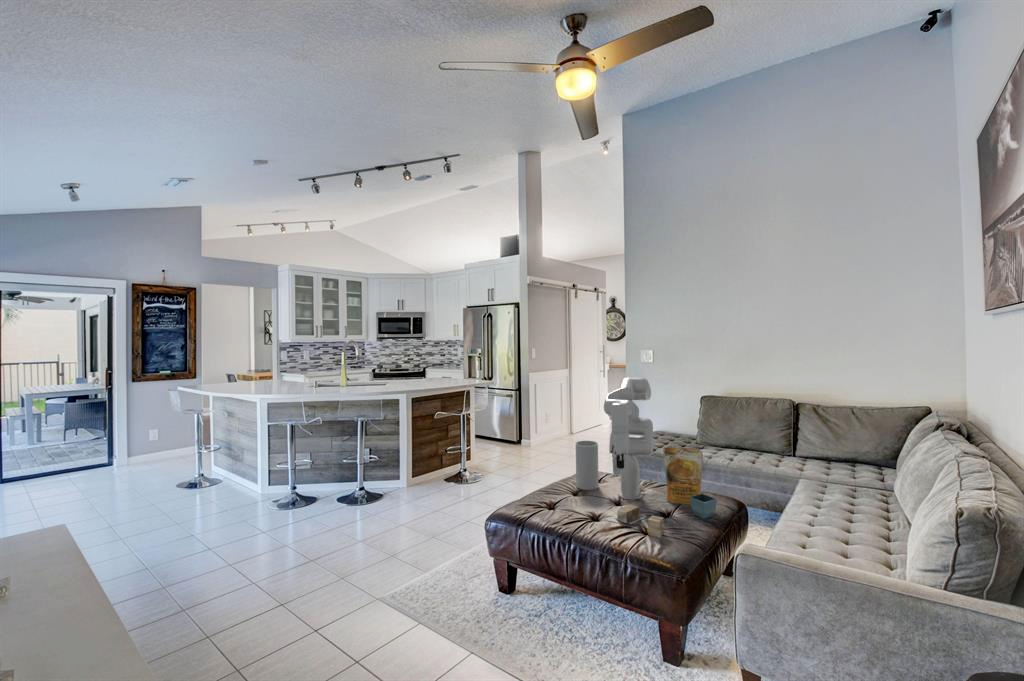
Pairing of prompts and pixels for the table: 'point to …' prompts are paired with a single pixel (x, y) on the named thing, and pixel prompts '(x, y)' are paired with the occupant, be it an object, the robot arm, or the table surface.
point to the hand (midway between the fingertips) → (620, 467)
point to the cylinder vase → (587, 465)
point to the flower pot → (703, 505)
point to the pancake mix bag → (682, 474)
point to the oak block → (655, 526)
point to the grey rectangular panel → (636, 519)
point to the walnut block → (628, 513)
